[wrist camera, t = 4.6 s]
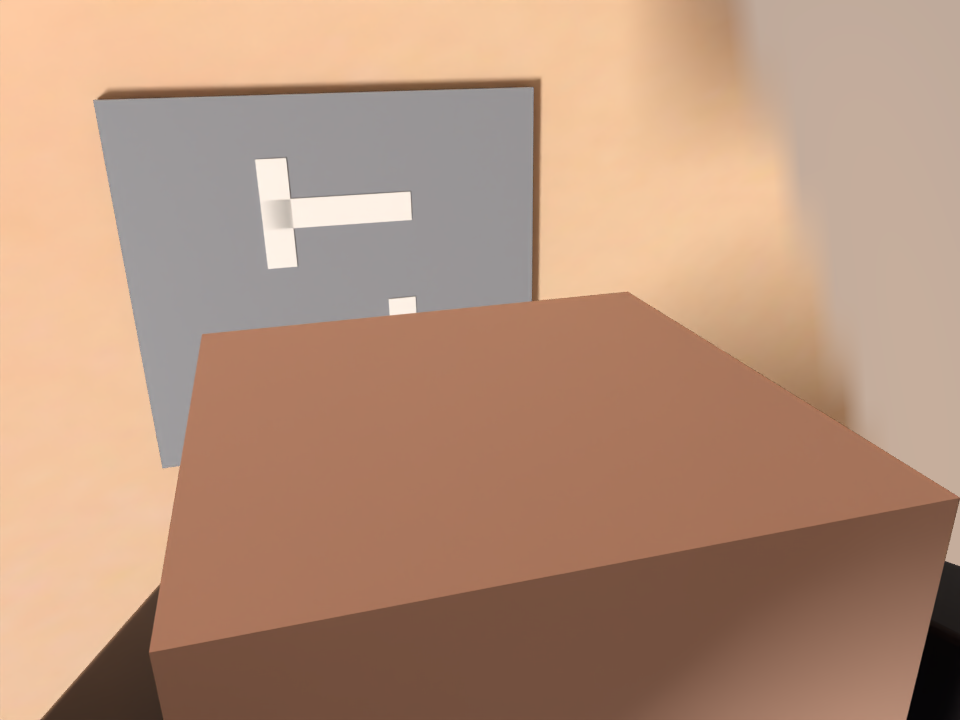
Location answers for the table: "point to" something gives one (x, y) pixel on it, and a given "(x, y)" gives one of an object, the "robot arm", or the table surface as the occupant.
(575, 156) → the table surface
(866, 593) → the block
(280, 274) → the tile
